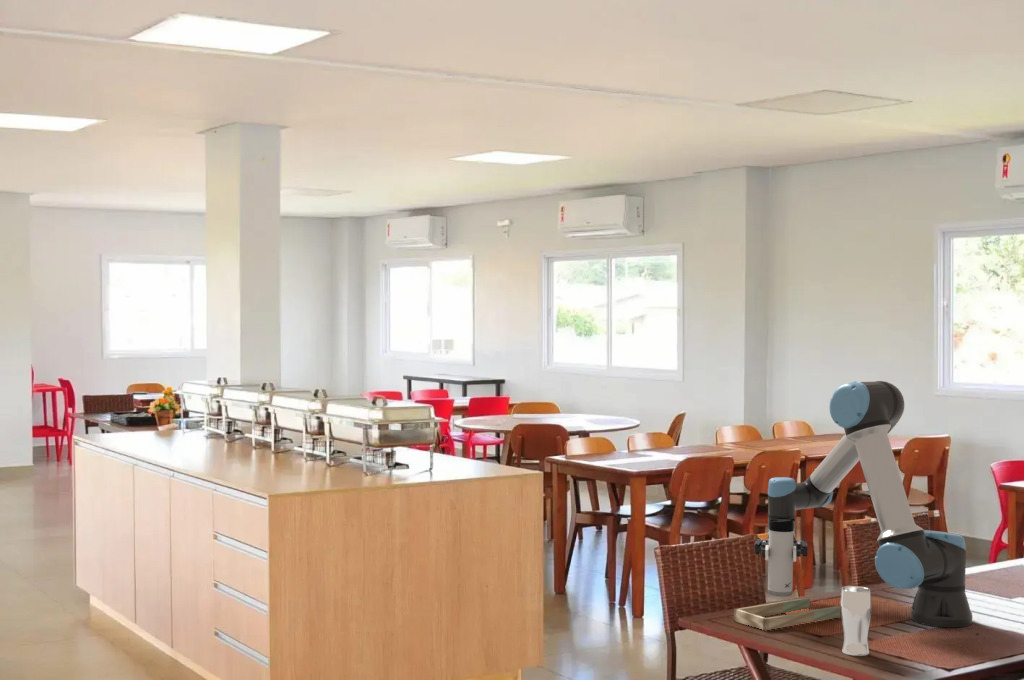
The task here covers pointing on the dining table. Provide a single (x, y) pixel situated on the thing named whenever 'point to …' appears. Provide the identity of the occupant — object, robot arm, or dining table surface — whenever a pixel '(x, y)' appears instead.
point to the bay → (757, 615)
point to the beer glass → (855, 619)
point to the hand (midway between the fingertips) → (780, 555)
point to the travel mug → (780, 557)
